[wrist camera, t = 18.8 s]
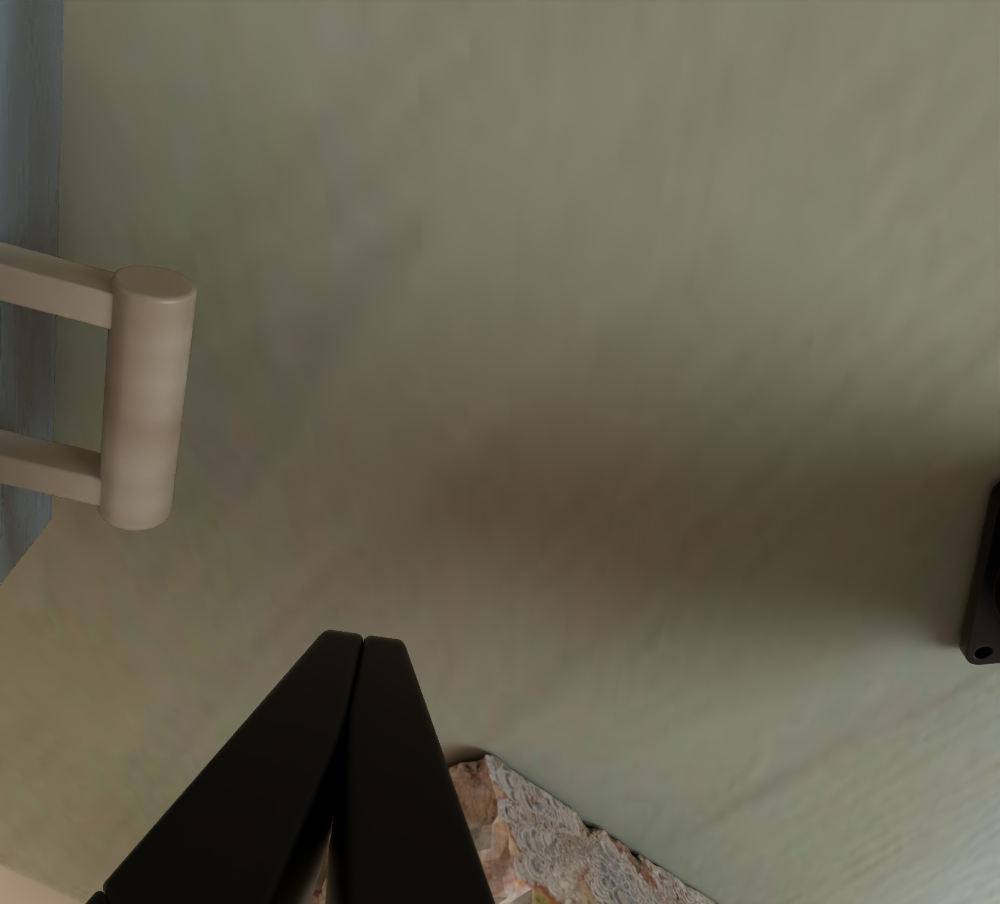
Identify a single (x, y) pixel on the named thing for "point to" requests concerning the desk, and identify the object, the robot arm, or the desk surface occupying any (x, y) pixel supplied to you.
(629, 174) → the desk surface
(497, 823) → the geological specimen
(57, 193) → the drawer
